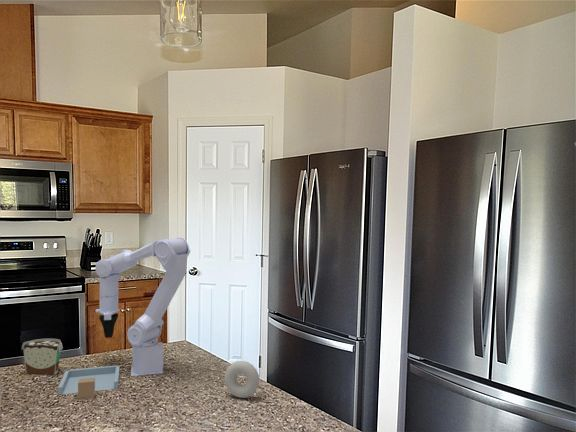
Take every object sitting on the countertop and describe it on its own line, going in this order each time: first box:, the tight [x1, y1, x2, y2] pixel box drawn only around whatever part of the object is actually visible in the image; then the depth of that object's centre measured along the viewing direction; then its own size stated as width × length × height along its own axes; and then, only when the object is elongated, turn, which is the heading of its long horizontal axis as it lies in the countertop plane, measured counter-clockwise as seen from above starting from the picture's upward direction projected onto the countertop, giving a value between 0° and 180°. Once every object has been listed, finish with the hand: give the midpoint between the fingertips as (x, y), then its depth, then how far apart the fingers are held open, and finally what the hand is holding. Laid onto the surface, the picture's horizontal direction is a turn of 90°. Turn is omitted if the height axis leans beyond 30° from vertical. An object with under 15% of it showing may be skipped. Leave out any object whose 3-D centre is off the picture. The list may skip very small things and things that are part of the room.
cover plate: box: [59, 378, 107, 415], centre depth 120 cm, size 12×10×5 cm
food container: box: [21, 338, 64, 376], centre depth 142 cm, size 12×6×10 cm, turn 84°
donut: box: [224, 360, 260, 399], centre depth 124 cm, size 10×3×10 cm, turn 74°
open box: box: [57, 364, 121, 396], centre depth 133 cm, size 15×14×2 cm
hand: (108, 337), depth 148 cm, fingers closed
